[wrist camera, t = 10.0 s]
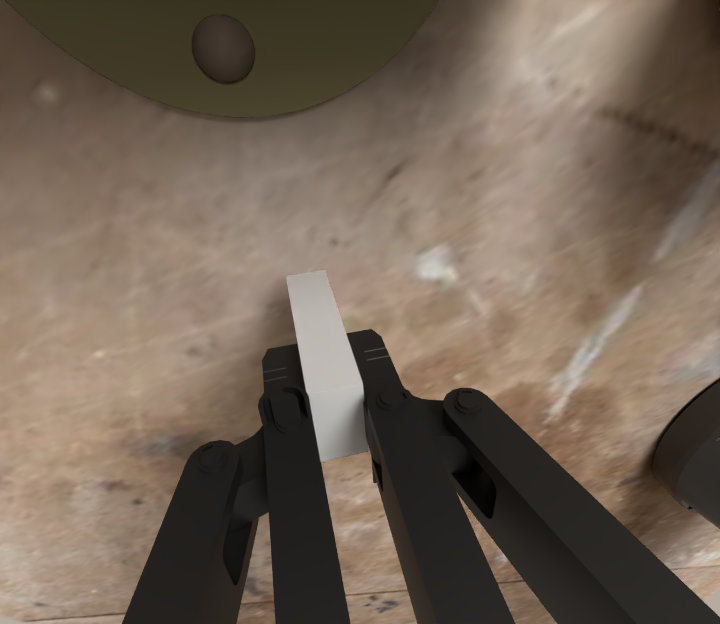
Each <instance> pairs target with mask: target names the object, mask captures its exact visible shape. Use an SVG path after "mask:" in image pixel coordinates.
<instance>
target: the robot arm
mask: <svg viewBox="0 0 720 624" xmlns="http://www.w3.org/2000/svg"><path fill="white" fill-rule="evenodd" d="M286 280H287V285H288V291H289V297H290V302H291V308H292V314H293V320H294V325H295V331H296V337H297V342H298V344H293V345H287V346H282V347H277V348H271V349H268V350H267V352H266V354H265V356H264V358H263V360H262V364H263V380H264V394H263V395H262V397H261V398H260V399H259V404H258V409H259V413H260V416H261V420H262V424H263V426H262V427H261V428H260V430H259V431H258V432H257V433H256V434H254V435H253V436H252V437H250V438H249V439H247V440H245V441H243V442H241V443H239V444H237V445H234V444H232V443H230V442H229V441H222V440H218V441H213V442H209V443H207V444H205V445H202V446H200V447H199V448H198V449H197V450H196V451H194V452H193V453H192V454H191V456H190V458H189V459H188V461H187V463H186V465H185V468H184V470H183V473H182V475H181V478H180V480H179V483H178V485H177V488H176V490H175V492H174V495H173V497H172V500H171V502H170V505H169V507H168V510H167V512H166V515H165V517H164V520H163V522H162V525H161V527H160V530H159V532H158V535H157V537H156V540H155V542H154V545H153V547H152V550H151V552H150V555H149V557H148V560H147V562H146V565H145V567H144V570H143V572H142V575H141V577H140V580H139V582H138V585H137V587H136V590H135V592H134V595H133V597H132V600H131V602H130V605H129V607H128V610H127V612H126V615H125V617H124V620H123V622H122V624H236V623H237V618H238V614H239V609H240V604H241V600H242V595H243V591H244V586H245V581H246V577H247V572H248V567H249V563H250V558H251V554H252V549H253V544H254V540H255V535H256V530H257V526H258V521H259V517H261V516H262V515H264V514H266V513H268V512H269V522H270V539H271V555H272V571H273V588H274V604H275V620H276V624H350V619H349V613H348V608H347V602H346V597H345V592H344V586H343V581H342V575H341V570H340V564H339V559H338V553H337V548H336V543H335V537H334V532H333V526H332V521H331V515H330V510H329V505H328V499H327V494H326V488H325V483H324V477H323V472H322V466H321V462H323V461H328V460H332V459H337V458H341V457H346V456H350V455H355V454H359V453H363V452H368V445H369V449H370V452H371V456H372V469H373V482H374V483H377V485H378V488H379V492H380V495H381V499H382V502H383V506H384V509H385V513H386V516H387V519H388V523H389V526H390V530H391V533H392V537H393V540H394V544H395V547H396V551H397V554H398V558H399V561H400V564H401V568H402V571H403V575H404V578H405V582H406V585H407V589H408V592H409V596H410V599H411V602H412V606H413V609H414V613H415V616H416V620H417V623H418V624H515V622H514V620H513V617H512V615H511V613H510V611H509V608H508V606H507V604H506V602H505V600H504V597H503V595H502V593H501V591H500V588H499V586H498V584H497V582H496V580H495V577H494V575H493V573H492V571H491V568H490V566H489V564H488V562H487V560H486V557H485V555H484V553H483V551H482V548H481V546H480V544H479V542H478V539H477V537H476V535H475V533H474V531H473V528H472V526H471V524H470V522H469V519H468V517H467V515H466V513H465V511H464V508H463V506H462V504H461V502H460V499H459V497H458V495H459V496H460V497H461V499H462V500H463V501H464V503H465V504H466V505H467V506H468V508H469V509H470V510H471V512H472V513H473V514H474V516H475V517H476V518H477V519H478V521H479V522H480V523H481V525H482V526H483V527H484V529H485V530H486V531H487V532H488V534H489V535H490V536H491V538H492V539H493V540H494V542H495V543H496V544H497V546H498V547H499V548H500V549H501V551H502V552H503V553H504V555H505V556H506V557H507V559H508V560H509V561H510V562H511V564H512V565H513V566H514V568H515V569H516V570H517V572H518V573H519V574H520V575H521V577H522V578H523V579H524V581H525V582H526V583H527V585H528V586H529V587H530V588H531V590H532V591H533V592H534V594H535V595H536V596H537V598H538V599H539V600H540V601H541V603H542V604H543V605H544V607H545V608H546V609H547V611H548V612H549V613H550V614H551V616H552V617H553V618H554V620H555V621H556V622H557V624H720V617H719V616H718V615H717V614H716V613H715V612H714V611H713V610H712V609H711V608H709V607H708V606H707V605H706V604H705V603H704V602H703V601H702V600H701V599H700V598H699V597H698V596H697V595H696V594H695V593H694V592H693V591H692V590H691V589H690V588H689V587H687V586H686V585H685V584H684V583H683V582H682V581H681V580H680V579H679V578H678V577H677V576H676V575H675V574H674V573H673V572H672V571H671V570H670V569H669V568H667V567H666V566H665V565H664V564H663V563H662V562H661V561H660V560H659V559H658V558H657V557H656V556H655V555H654V554H653V553H652V552H651V551H650V550H649V549H648V548H646V547H645V546H644V545H643V544H642V543H641V542H640V541H639V540H638V539H637V538H636V537H635V536H634V535H633V534H632V533H631V532H630V531H629V530H628V529H627V528H625V527H624V526H623V525H622V524H621V523H620V522H619V521H618V520H617V519H616V518H615V517H614V516H613V515H612V514H611V513H610V512H609V511H608V510H607V509H605V508H604V507H603V506H602V505H601V504H600V503H599V502H598V501H597V500H596V499H595V498H594V497H593V496H592V495H591V494H590V493H589V492H588V491H587V490H586V489H584V488H583V487H582V486H581V485H580V484H579V483H578V482H577V481H576V480H575V479H574V478H573V477H572V476H571V475H570V474H569V473H568V472H567V471H566V470H564V469H563V468H562V467H561V466H560V465H559V464H558V463H557V462H556V461H555V460H554V459H553V458H552V457H551V456H550V455H549V454H548V453H547V452H546V451H545V450H543V449H542V448H541V447H540V446H539V445H538V444H537V443H536V442H535V441H534V440H533V439H532V438H531V437H530V436H529V435H528V434H527V433H526V432H525V431H524V430H522V429H521V428H520V427H519V426H518V425H517V424H516V423H515V422H514V421H513V420H512V419H511V418H510V417H509V416H508V415H507V414H506V413H505V412H504V411H502V410H501V409H500V408H499V407H498V406H497V405H496V404H495V403H494V402H493V401H492V400H491V399H490V398H489V397H488V396H486V395H485V394H484V393H482V392H481V391H478V390H475V389H472V388H459V389H455V390H452V391H451V392H449V393H448V394H447V395H446V396H445V398H444V400H443V401H442V400H426V399H421V398H418V397H415V396H413V395H412V394H411V393H410V392H409V391H408V390H406V389H405V388H404V387H403V385H402V383H401V381H400V379H399V376H398V374H397V372H396V369H395V367H394V365H393V363H392V360H391V358H390V357H389V353H388V351H387V349H386V347H385V344H384V342H383V340H382V337H381V336H380V335H378V334H377V333H376V332H375V331H373V330H372V329H369V330H363V331H358V332H352V333H347V334H346V331H345V328H344V325H343V322H342V319H341V316H340V313H339V310H338V307H337V304H336V301H335V298H334V295H333V292H332V289H331V286H330V283H329V280H328V277H327V274H326V271H325V270H320V271H314V272H307V273H301V274H295V275H289V276H286ZM653 472H654V475H655V477H656V478H657V480H658V481H659V482H660V483H661V484H662V485H663V486H664V487H665V489H666V490H667V491H668V492H669V493H670V494H671V495H672V496H673V497H674V499H675V500H676V501H678V502H679V503H680V504H681V505H682V506H684V507H686V508H687V509H689V510H691V511H692V512H696V513H699V514H700V515H702V516H703V517H704V518H706V519H707V520H708V521H710V522H711V523H712V524H714V525H715V526H717V527H718V528H719V529H720V381H719V382H718V383H716V384H715V385H713V386H712V387H711V388H709V389H708V390H707V391H706V392H704V393H703V394H702V395H701V396H699V397H698V398H697V399H696V400H695V401H694V402H693V403H692V404H691V405H689V406H688V407H687V408H686V409H685V410H684V411H683V412H682V413H681V415H680V416H679V417H678V418H677V419H676V420H675V421H674V422H673V424H672V425H671V426H670V428H669V429H668V430H667V432H666V433H665V435H664V436H663V438H662V439H661V441H660V443H659V445H658V447H657V449H656V452H655V455H654V459H653ZM456 492H457V493H458V495H457V493H456Z"/></svg>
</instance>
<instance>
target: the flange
mask: <svg viewBox="0 0 720 624" xmlns="http://www.w3.org/2000/svg"><path fill="white" fill-rule="evenodd" d="M6 1H7V2H8V3H9V4H10V5H11V6H12V7H13V8H14V9H15V10H16V11H17V12H18V13H19V14H20V15H21V16H23V17H24V18H25V19H26V20H27V21H28V22H29V23H30V24H32V25H33V26H34V27H35V28H36V29H37V30H39V31H40V32H41V33H42V34H43V35H45V36H46V37H47V38H48V39H50V40H51V41H52V42H53V43H55V44H56V45H57V46H59V47H60V48H61V49H63V50H64V51H65V52H67V53H68V54H70V55H71V56H72V57H74V58H75V59H77V60H78V61H80V62H81V63H83V64H84V65H86V66H87V67H89V68H91V69H92V70H94V71H96V72H97V73H99V74H101V75H102V76H104V77H106V78H108V79H110V80H111V81H113V82H115V83H117V84H119V85H121V86H123V87H125V88H127V89H129V90H131V91H133V92H136V93H138V94H140V95H143V96H145V97H148V98H150V99H153V100H155V101H158V102H161V103H164V104H167V105H170V106H174V107H177V108H180V109H184V110H189V111H193V112H197V113H203V114H209V115H216V116H225V117H262V116H272V115H279V114H285V113H290V112H294V111H298V110H302V109H305V108H309V107H312V106H314V105H317V104H320V103H323V102H325V101H327V100H330V99H332V98H334V97H336V96H338V95H340V94H342V93H344V92H346V91H348V90H349V89H351V88H353V87H354V86H356V85H358V84H359V83H361V82H362V81H364V80H365V79H367V78H368V77H369V76H371V75H372V74H373V73H375V72H376V71H377V70H378V69H380V68H381V67H382V66H383V65H384V64H386V63H387V62H388V61H389V60H390V59H391V58H392V57H393V56H394V55H395V54H396V53H397V52H398V51H399V50H400V49H401V48H402V47H403V46H404V45H405V44H406V43H407V42H408V41H409V40H410V38H411V37H412V36H413V35H414V34H415V32H416V31H417V30H418V29H419V27H420V26H421V25H422V24H423V22H424V21H425V19H426V18H427V17H428V15H429V14H430V13H431V11H432V10H433V8H434V6H435V5H436V3H437V2H438V0H6ZM215 14H223V15H227V16H230V17H232V18H234V19H236V20H238V21H239V22H240V23H241V24H242V25H243V26H244V27H245V28H246V29H247V31H248V32H249V34H250V36H251V38H252V41H253V44H254V49H255V57H254V63H253V66H252V68H251V70H250V72H249V73H248V74H247V75H246V76H245V77H244V78H243V79H241V80H239V81H236V82H232V83H224V82H219V81H217V80H214V79H213V78H211V77H209V76H208V75H207V74H206V73H205V72H204V71H203V70H202V69H201V68H200V66H199V64H198V63H197V61H196V59H195V56H194V52H193V46H192V44H193V35H194V32H195V29H196V27H197V26H198V24H199V23H200V22H201V21H202V20H203V19H205V18H206V17H208V16H210V15H215Z"/></svg>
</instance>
